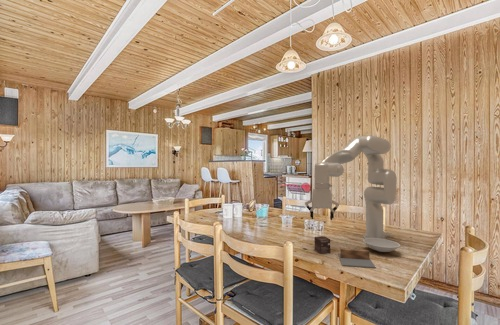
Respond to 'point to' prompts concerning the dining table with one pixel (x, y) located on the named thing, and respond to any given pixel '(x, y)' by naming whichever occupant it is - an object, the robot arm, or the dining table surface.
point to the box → (322, 244)
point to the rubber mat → (356, 262)
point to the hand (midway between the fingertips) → (321, 219)
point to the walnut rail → (354, 254)
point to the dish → (381, 244)
